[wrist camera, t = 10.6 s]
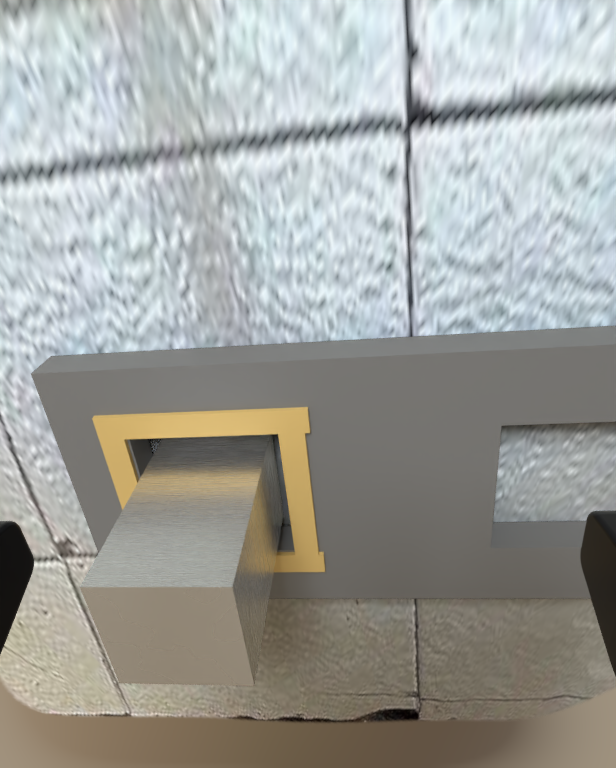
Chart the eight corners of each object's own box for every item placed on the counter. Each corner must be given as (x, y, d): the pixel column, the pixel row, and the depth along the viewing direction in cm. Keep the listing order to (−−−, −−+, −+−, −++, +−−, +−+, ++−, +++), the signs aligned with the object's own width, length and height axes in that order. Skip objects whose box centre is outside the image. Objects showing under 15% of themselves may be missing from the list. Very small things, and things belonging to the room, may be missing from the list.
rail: (772, 317, 18) (809, 337, 17) (687, 570, 24) (709, 602, 22) (50, 356, 21) (27, 376, 20) (127, 573, 27) (114, 602, 25)
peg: (271, 429, 22) (232, 587, 15) (283, 513, 24) (254, 685, 17) (165, 432, 23) (79, 587, 16) (186, 514, 25) (119, 682, 18)
